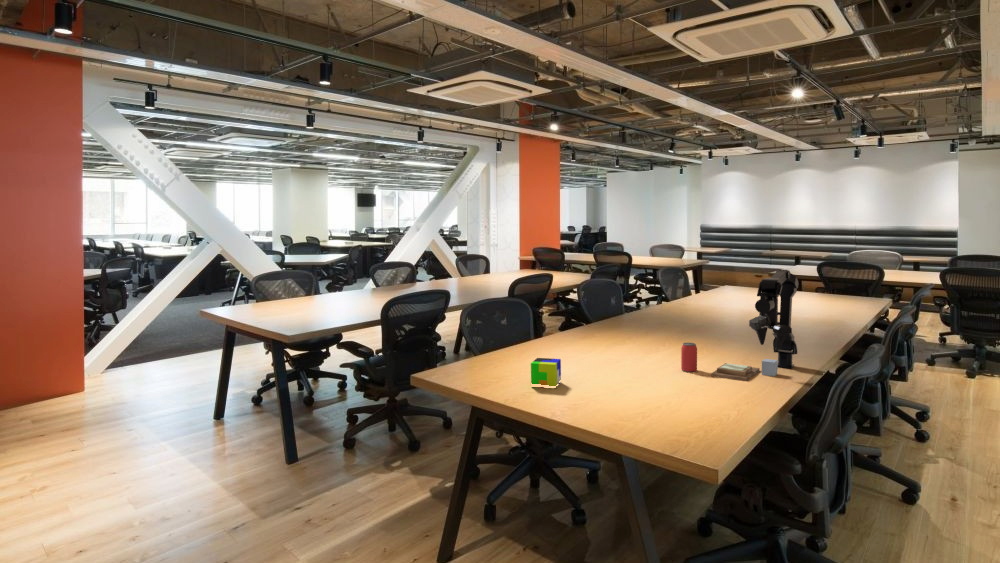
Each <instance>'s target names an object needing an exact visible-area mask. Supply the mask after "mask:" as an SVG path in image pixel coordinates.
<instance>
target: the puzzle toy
mask: <svg viewBox="0 0 1000 563" xmlns="http://www.w3.org/2000/svg"><path fill="white" fill-rule="evenodd" d="M561 361H562V360H561V358H547V357H546V358H545V357H537V358H536V359H534V360H533V361H532V362H531V363H530V384H531V383H532V384H541V385H549V386H556V385H557V384H558V383H559V381H560V380H561V381H562V367H561V366H562V362H561Z"/></svg>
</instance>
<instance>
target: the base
mask: <svg viewBox="0 0 1000 563" xmlns="http://www.w3.org/2000/svg"><path fill="white" fill-rule="evenodd" d="M759 372H760V367H755V366H751V365H750V366H749V365H744V364H737V363H735V364H734V363H723V364H721V365H719V366H718V367H716V370H714V371H713V372H711V373H710V375H711V377H713V378H714V377H715V378H723V379H729V380H730V379H731V380H737V381H743V382H747V381H748V380H749V379H751V378H752V377H753V376H755V375H756V374H758V373H759Z"/></svg>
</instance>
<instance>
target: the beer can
mask: <svg viewBox="0 0 1000 563" xmlns="http://www.w3.org/2000/svg"><path fill="white" fill-rule="evenodd" d="M680 352H681V356H680V358H681V361H680V362H681V364H680V365H681V371H682V372H686V373H695V372H697V371H698V347H697V344H696V343H695V342H683V343H682V346H681V351H680Z"/></svg>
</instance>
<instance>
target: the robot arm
mask: <svg viewBox="0 0 1000 563" xmlns="http://www.w3.org/2000/svg"><path fill="white" fill-rule="evenodd" d="M797 289H799V280H798V278H797V276H796V275H794V274H793V273H791V271H790V270H789V269H777V270H776V271H775V273H774V274H773V275H771V276H770V277H766V278H765V277H764V278H762V280H760V282H759V285H758V289H757V294H756V297H760V298H759V299H758V300H757V301H756V302H755V304H754V307H755V310H756V312H757V313H758V314H759V315H758V316H755V317H754V318H751V319H749V320H748V325H749V326H748V327H750V328H751V330H753V331H755V333H756V335H757V337H758V341H759V343H760V345H761V346H764V343H765V342H766V341H765V340H766V336H767V332H768V329H769V330H772V335H773V336H774V339H773V341H772V348H773V349H772V350H773V353H777V360H778V368H784V369H793V368H794V367H795V364H793V356H794V355H798V347H797V342H796V340H795V335H794V334H793V328H792V323H791V322H792V313H793V312H792V311H793V310H792V309H793V308H792V307H793V298H794V296H795V295H796V293H797ZM779 297H780V305H779ZM779 307H780V310H779Z"/></svg>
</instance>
